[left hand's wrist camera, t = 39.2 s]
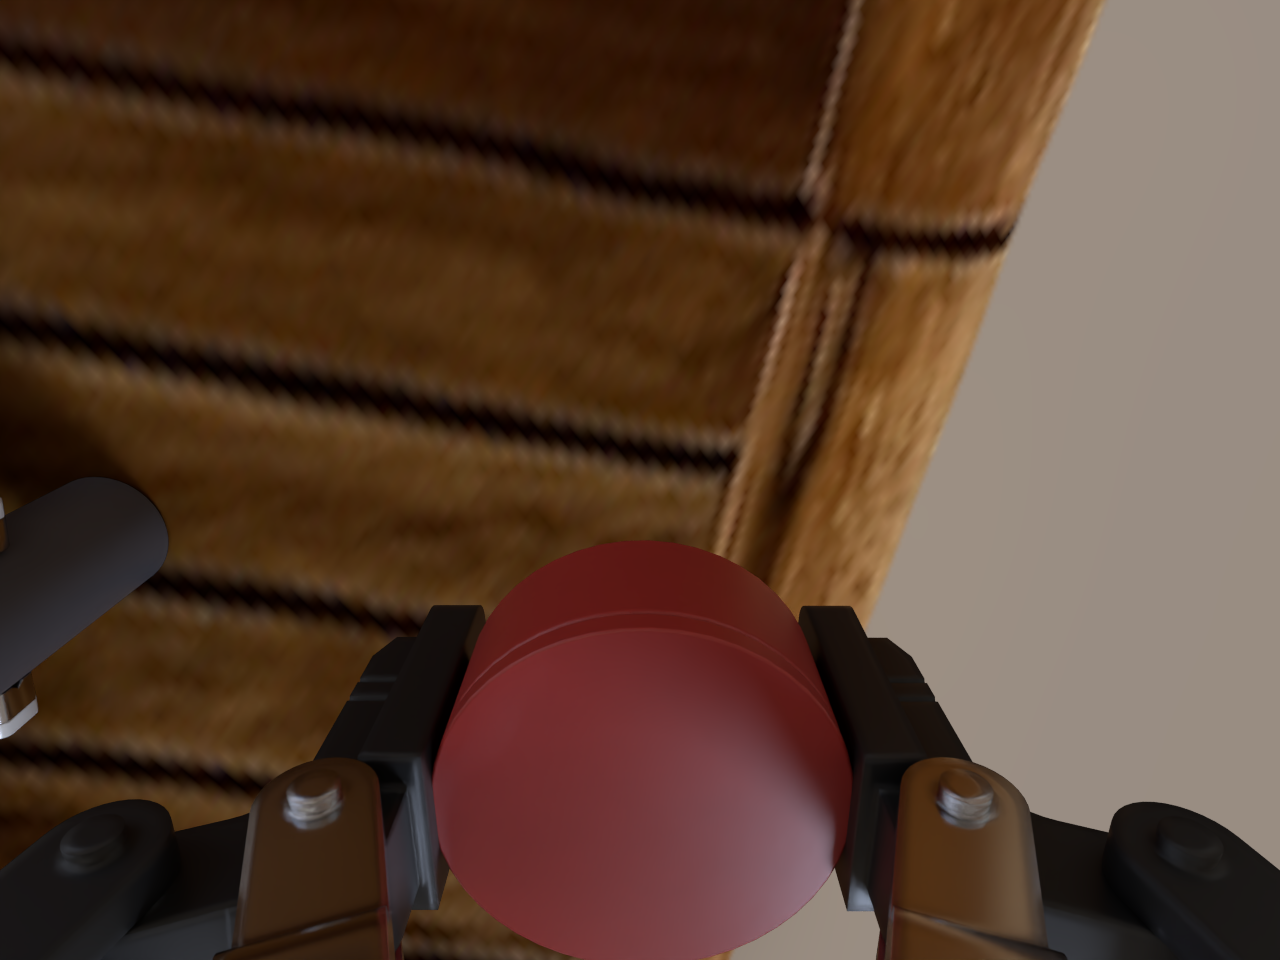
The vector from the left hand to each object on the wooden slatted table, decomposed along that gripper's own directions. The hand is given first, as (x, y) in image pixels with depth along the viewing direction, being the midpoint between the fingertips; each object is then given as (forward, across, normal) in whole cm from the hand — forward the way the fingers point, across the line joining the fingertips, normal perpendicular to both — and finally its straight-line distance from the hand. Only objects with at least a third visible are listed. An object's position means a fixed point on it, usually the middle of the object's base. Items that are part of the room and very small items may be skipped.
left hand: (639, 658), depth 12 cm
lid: (-3, 0, 0) cm, 3 cm away
